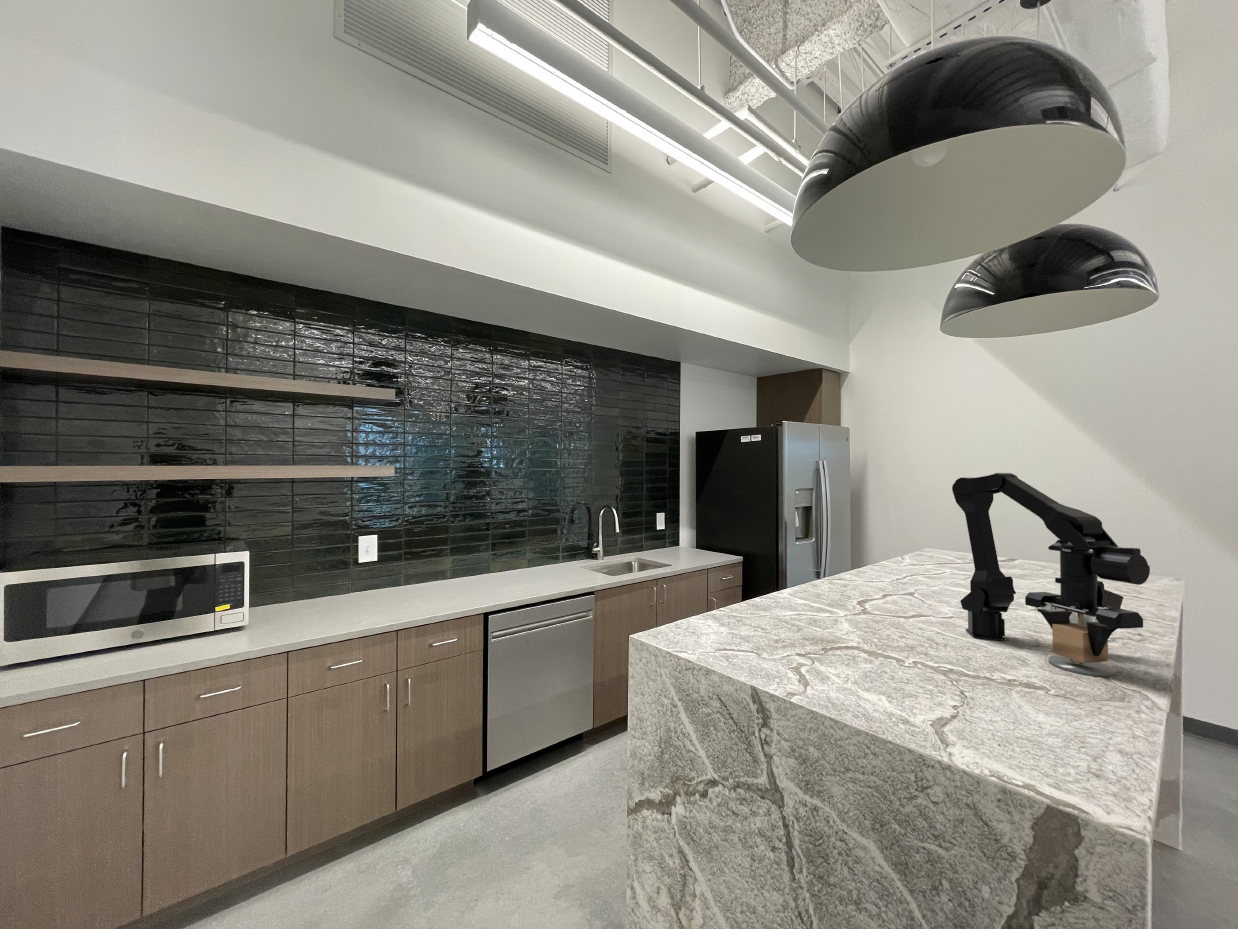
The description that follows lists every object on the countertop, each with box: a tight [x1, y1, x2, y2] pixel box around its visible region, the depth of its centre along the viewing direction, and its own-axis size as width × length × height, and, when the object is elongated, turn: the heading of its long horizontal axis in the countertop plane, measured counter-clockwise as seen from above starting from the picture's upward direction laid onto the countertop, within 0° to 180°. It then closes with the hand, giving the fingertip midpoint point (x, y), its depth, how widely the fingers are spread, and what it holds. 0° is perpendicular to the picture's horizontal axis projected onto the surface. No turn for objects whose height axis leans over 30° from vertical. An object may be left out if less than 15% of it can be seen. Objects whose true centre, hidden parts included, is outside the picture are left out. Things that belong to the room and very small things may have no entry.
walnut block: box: [1051, 623, 1109, 663], centre depth 103 cm, size 6×6×6 cm
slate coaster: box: [1048, 655, 1116, 678], centre depth 103 cm, size 10×10×1 cm
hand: (1079, 650), depth 103 cm, fingers closed on walnut block, 6 cm apart
